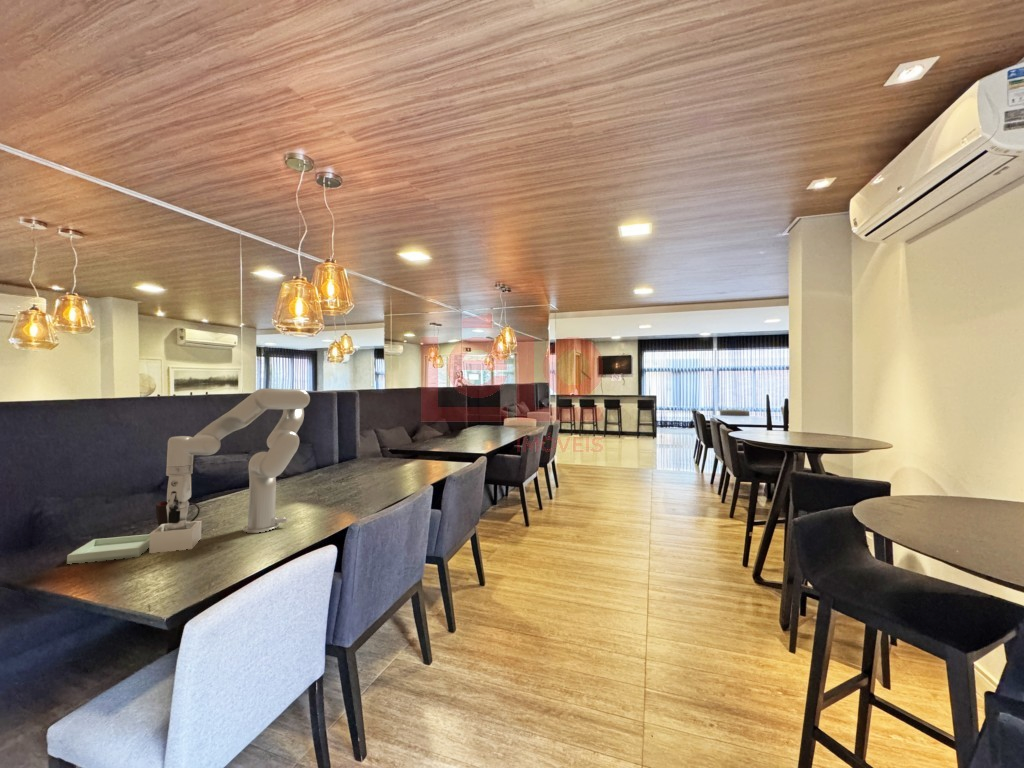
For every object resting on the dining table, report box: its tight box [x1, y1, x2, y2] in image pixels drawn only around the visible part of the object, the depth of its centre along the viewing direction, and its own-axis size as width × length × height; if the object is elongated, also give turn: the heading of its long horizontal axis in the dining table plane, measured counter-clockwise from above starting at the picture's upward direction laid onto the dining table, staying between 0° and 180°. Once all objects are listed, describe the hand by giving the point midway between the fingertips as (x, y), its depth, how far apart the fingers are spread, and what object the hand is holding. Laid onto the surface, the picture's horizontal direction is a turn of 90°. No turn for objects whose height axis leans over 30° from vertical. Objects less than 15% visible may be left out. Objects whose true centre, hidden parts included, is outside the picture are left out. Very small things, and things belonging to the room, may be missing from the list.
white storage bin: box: [148, 520, 202, 554], centre depth 149 cm, size 12×11×7 cm
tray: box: [66, 533, 150, 565], centre depth 142 cm, size 18×16×3 cm
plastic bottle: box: [166, 499, 190, 531], centre depth 150 cm, size 6×7×20 cm
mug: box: [155, 500, 201, 527], centre depth 165 cm, size 10×14×12 cm
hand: (177, 519), depth 149 cm, fingers closed on plastic bottle, 6 cm apart
